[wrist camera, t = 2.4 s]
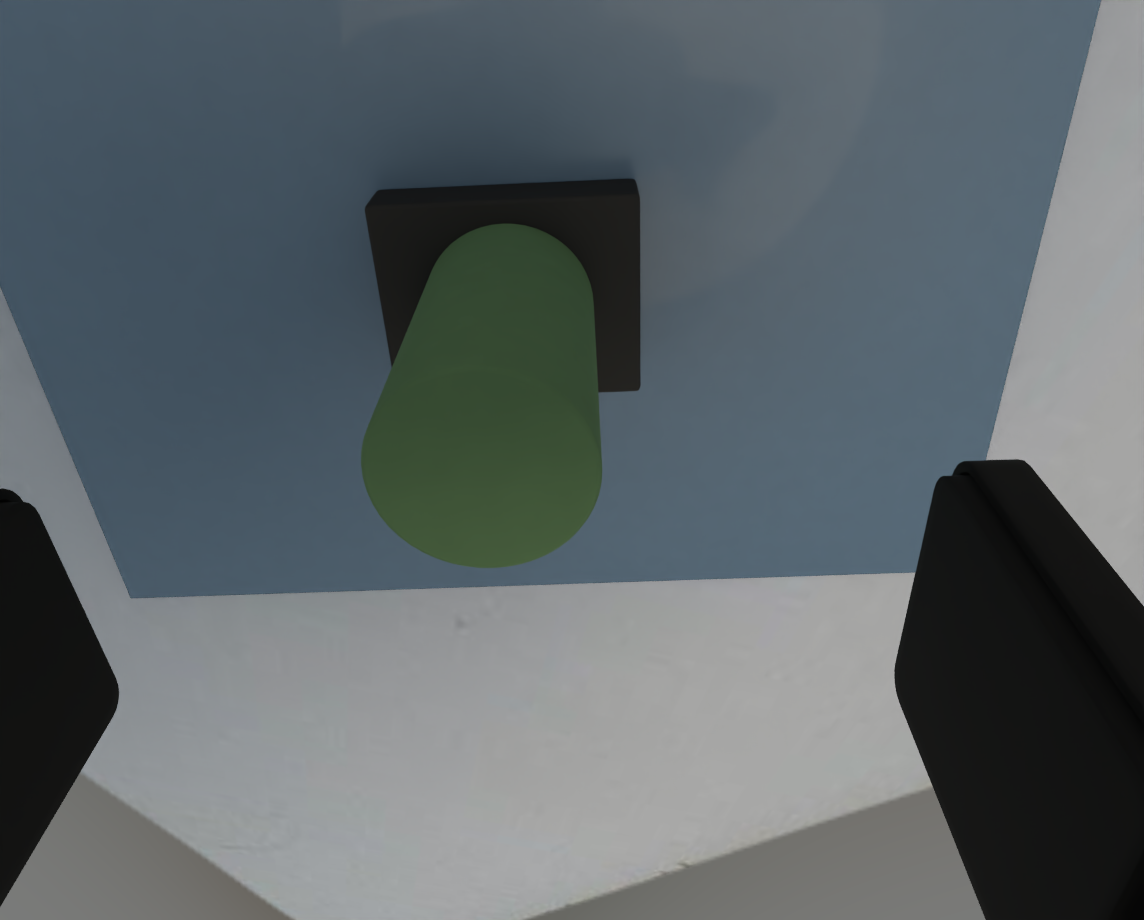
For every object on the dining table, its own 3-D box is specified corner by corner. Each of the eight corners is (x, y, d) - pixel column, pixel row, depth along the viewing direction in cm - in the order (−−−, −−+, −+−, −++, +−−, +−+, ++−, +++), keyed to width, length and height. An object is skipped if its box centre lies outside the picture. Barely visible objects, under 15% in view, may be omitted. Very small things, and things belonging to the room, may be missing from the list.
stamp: (405, 376, 19) (324, 597, 12) (375, 188, 16) (258, 344, 10) (637, 366, 18) (668, 585, 12) (636, 177, 16) (673, 328, 10)
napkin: (132, 595, 22) (130, 598, 22) (-188, -176, 14) (-195, -177, 13) (956, 568, 21) (958, 571, 21) (1160, -252, 13) (1164, -254, 13)
